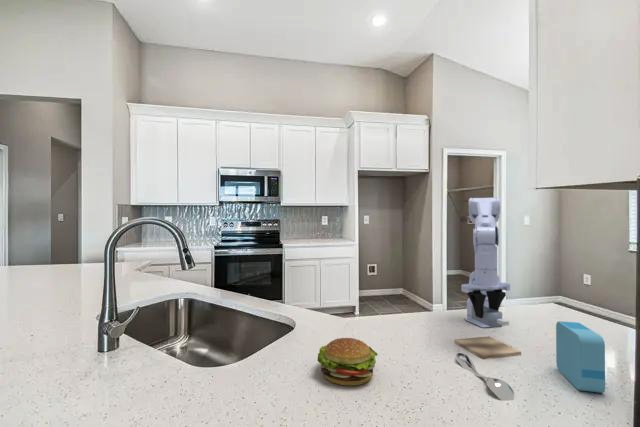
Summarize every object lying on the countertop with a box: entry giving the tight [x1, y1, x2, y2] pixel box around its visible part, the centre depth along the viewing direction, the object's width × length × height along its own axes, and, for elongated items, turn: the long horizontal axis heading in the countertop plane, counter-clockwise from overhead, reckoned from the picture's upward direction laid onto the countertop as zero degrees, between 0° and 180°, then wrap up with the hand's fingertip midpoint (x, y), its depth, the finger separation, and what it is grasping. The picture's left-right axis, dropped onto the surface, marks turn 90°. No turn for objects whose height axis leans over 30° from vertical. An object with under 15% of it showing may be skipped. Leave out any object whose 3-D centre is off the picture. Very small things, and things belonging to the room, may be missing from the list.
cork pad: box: [453, 336, 522, 360], centre depth 94 cm, size 12×12×1 cm
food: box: [316, 337, 378, 386], centre depth 79 cm, size 14×14×8 cm
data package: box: [555, 320, 606, 394], centre depth 75 cm, size 12×4×12 cm, turn 165°
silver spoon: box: [455, 352, 515, 402], centre depth 77 cm, size 20×4×5 cm
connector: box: [471, 305, 510, 328], centre depth 93 cm, size 12×4×4 cm, turn 13°
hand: (486, 316), depth 94 cm, fingers closed on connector, 4 cm apart
